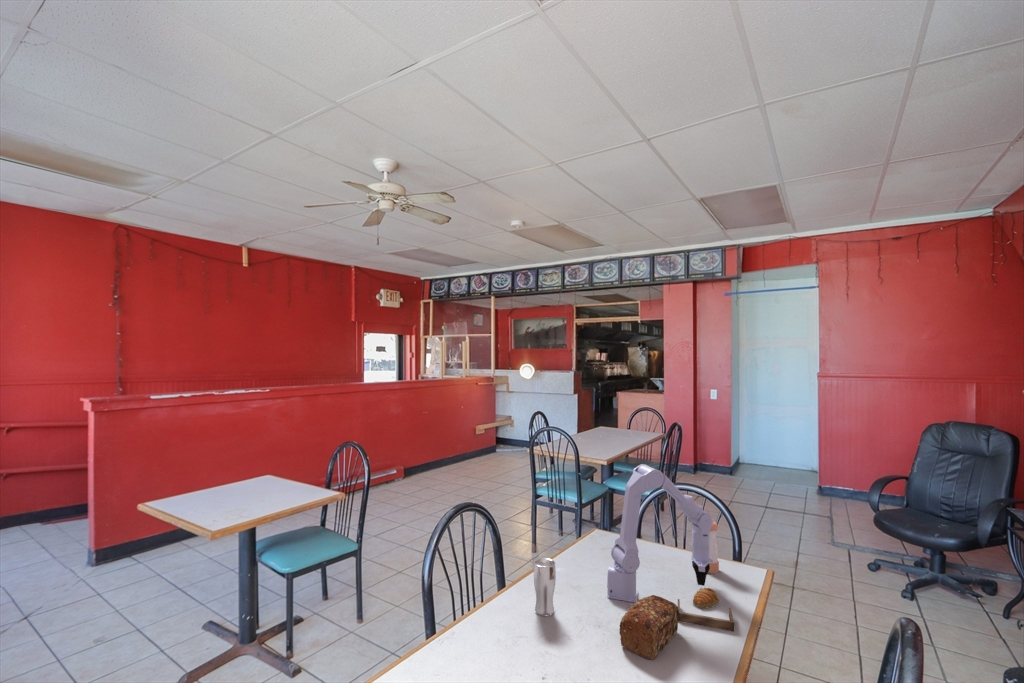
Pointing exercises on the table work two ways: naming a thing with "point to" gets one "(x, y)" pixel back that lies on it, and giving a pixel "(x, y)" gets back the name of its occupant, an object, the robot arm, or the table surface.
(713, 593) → the pastry
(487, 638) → the table surface
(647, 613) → the bread
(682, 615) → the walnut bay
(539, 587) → the beer glass
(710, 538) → the pepper shaker
